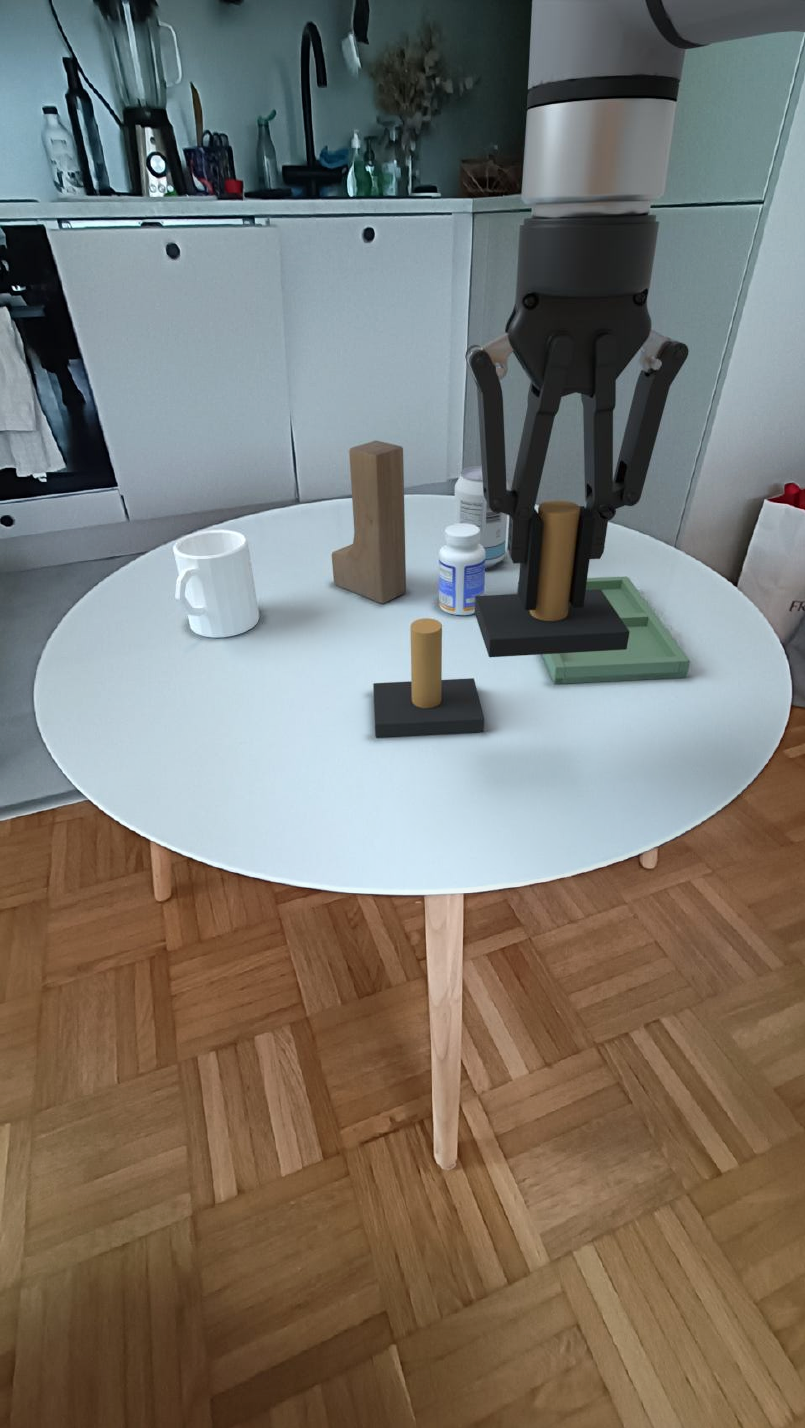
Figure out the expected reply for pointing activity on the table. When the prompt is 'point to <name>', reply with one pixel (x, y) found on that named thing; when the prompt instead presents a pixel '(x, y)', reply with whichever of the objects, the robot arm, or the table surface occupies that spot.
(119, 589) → the table surface
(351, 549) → the wooden block
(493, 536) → the beverage can
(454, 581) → the pill bottle
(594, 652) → the pad holder
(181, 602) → the mug
